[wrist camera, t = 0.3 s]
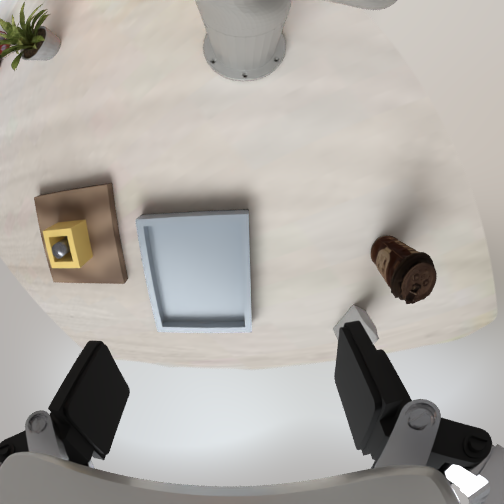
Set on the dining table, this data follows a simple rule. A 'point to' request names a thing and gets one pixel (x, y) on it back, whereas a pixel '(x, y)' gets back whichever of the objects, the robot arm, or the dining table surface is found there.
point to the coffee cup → (404, 269)
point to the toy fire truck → (3, 44)
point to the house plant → (29, 39)
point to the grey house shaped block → (363, 317)
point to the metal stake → (61, 248)
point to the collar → (77, 243)
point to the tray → (197, 270)
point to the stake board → (99, 230)
